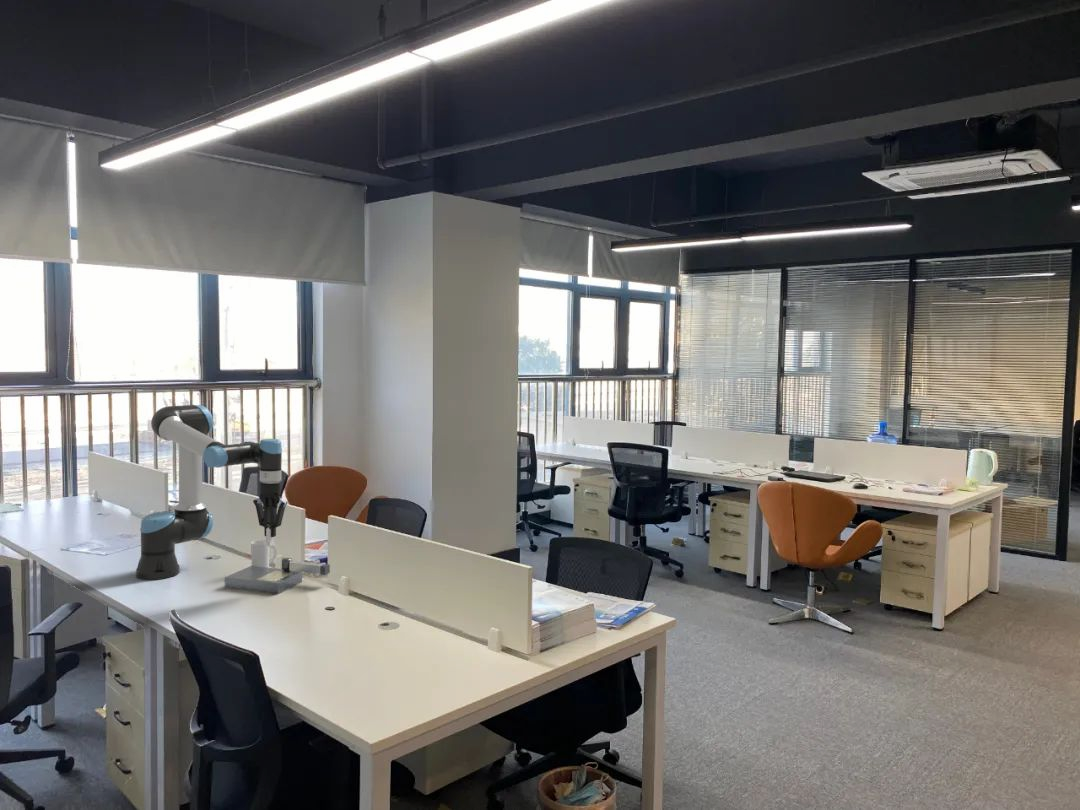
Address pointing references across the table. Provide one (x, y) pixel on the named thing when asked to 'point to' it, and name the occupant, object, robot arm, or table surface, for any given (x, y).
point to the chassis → (263, 579)
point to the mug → (261, 553)
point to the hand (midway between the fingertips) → (270, 545)
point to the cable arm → (305, 566)
